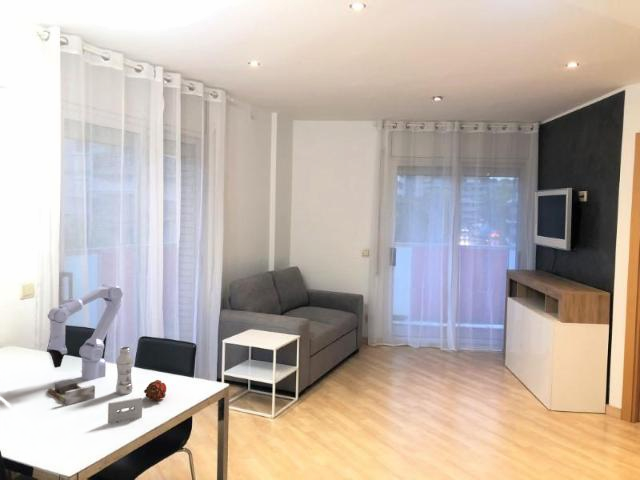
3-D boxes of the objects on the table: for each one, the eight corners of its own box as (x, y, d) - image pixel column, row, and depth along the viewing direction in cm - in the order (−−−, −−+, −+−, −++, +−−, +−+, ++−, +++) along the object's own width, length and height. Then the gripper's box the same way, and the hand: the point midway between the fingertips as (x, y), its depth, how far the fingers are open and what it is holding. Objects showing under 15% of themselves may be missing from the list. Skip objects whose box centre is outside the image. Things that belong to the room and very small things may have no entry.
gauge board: (73, 387, 212) (73, 373, 212) (94, 400, 199) (94, 385, 199) (46, 393, 204) (46, 379, 204) (66, 407, 191) (66, 392, 191)
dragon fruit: (155, 409, 197) (152, 402, 208) (173, 394, 200) (169, 388, 211) (142, 393, 196) (140, 387, 206) (160, 378, 199) (157, 373, 210)
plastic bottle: (135, 393, 208) (136, 347, 207) (123, 398, 202) (124, 351, 201) (124, 390, 211) (125, 345, 210) (112, 395, 205) (113, 348, 204)
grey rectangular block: (71, 387, 209) (72, 379, 208) (76, 390, 205) (77, 382, 205) (54, 391, 203) (54, 383, 203) (59, 395, 200) (59, 386, 200)
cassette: (141, 416, 186) (141, 396, 186) (142, 418, 185) (142, 398, 184) (107, 423, 179) (107, 402, 179) (108, 424, 178) (108, 404, 177)
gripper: (41, 333, 211) (40, 364, 211) (54, 340, 201) (54, 373, 202) (58, 331, 216) (57, 361, 217) (72, 337, 207) (71, 369, 207)
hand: (57, 366), depth 210 cm, fingers closed
